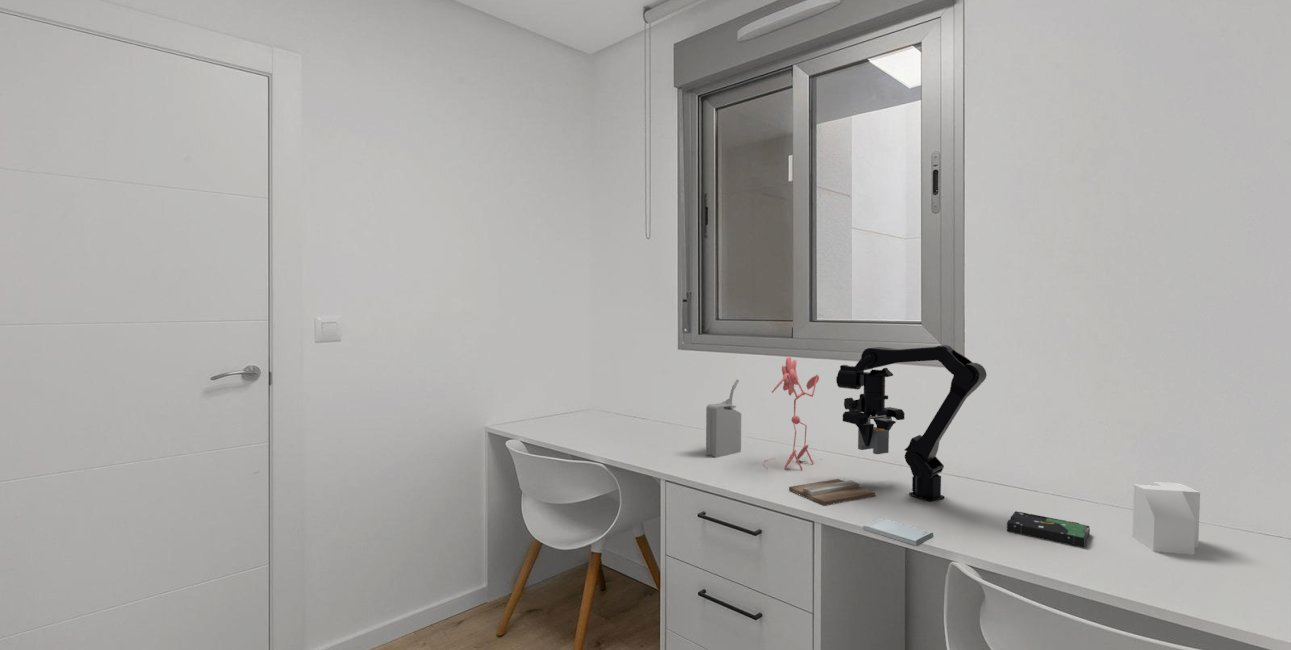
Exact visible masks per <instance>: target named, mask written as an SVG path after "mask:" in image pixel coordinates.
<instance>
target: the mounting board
mask: <svg viewBox="0 0 1291 650" xmlns="http://www.w3.org/2000/svg"><path fill="white" fill-rule="evenodd" d="M789 490H790V492H792V493H794V492H795V493H794V494H796V493H798V494H797V495H799V494H800V495H799V496H801V495H802V496H801V497H803V496H804V497H803V498H806V497H807V498H806V499H808V498H809V499H808V500H810V499H812V500H811V501H813V500H814V501H813V502H815V501H816V503H817V502H818V504H820V503H821V505H822V504H823V506H828V505H827V504H829V505H834V504H833V503H835V504H839V502H840V503H844V502H843V501H846V502H850V501H849V500H851V501H854V500H855V499H856V500H860V498H862V499H866V497H867V498H872V497H876V495H877V494H876V491H873V490H871V489H867V488H864V487H862V486H860V483H859V482H857V481H853V480H851V479H850V480H843V479H839V478H836V479H830V480H829V479H828V480H823V481H817V482H811V483H805V484H798V485H793V486H788V491H789ZM871 496H872V497H871Z"/></svg>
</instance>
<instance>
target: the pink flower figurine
mask: <svg viewBox="0 0 1291 650" xmlns="http://www.w3.org/2000/svg"><path fill="white" fill-rule="evenodd" d="M796 368H797V360H796V359H792V357H791V356H787V357H786V358H785V365H781V372H782V378H781V379H780V381H779V382H778V384H777V385H776V386H775V387H774V389H773V390H772V391H771V393H772V394H773V393H774V392H775V391H776V390H777V388H778V387H780V386H781V384H783V386H782V389H783V391H784V392H786V391H787V390H788V392H787V393H788V396H792V394H793V393H794V395H795V398H794V400H793V416H792V417H791V423H792V424H793V428H794V429H793V430H794V438H793V440H794V441H793V447H792V448H793V449H792V453H791V454H790V455H789V457H788V459H787V461H786V464H785V466H784V469H786V468H787V467H788V466H789V465H790V463H791V462H792V461H793V459H794V457H795V459H796V461H797V464H798V466H799V469H800V470H801V471H803V466H802V464H801V462H800V459H801V457H802V456H803V455H804V454H805V453H806V454H807V456H808V459H809V460H810V462H811V465H813V464H814V461H813V459H812V457H811V454H810V452H809V450H808V448H809V444H807V443H806V441H807V440H806V439H807V429H808V428H807V427H808V426H807V424H806V423H803V422H801V418H800V416H798V415H796V404H797V400H798V399H800V398H801V397H802V396H805V395H807V396H809V397H814V395H815V389H816V386H817V383H818V382H819V379H820V376H819V375H818V374H816V375H814V376H812V377H811V378H810V379H809V380H808V381H807V383H806V388H807V390H810V389H812V388H813V389H812V393H808V392H805V391H804V390H803V388H802V386H801V384H800V382H799V378H798V374H797V370H796ZM797 385H798V387H799V389H800V391H801V392H800V393H799V394H797V391H796V389H795V386H797ZM798 424H802V425H803V426H804V427H805V429H804V430H805V431H804V444H803V445H804V446H802V448H801V450H800V451H799V453H798V454H796V453H797V450H796V449H795V446H796V439H797V438H796V437H797V429H796V425H798ZM773 459H775V457H773V458H769V459H767V460H764V463H765V462H768V461H770V460H773ZM820 460H822V461H823V459H822V458H820ZM764 463H762V465H763V466H765V465H764ZM766 469H767V470H768V467H766Z"/></svg>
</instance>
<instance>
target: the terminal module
mask: <svg viewBox="0 0 1291 650" xmlns="http://www.w3.org/2000/svg"><path fill="white" fill-rule="evenodd" d="M857 428H858V427H857ZM857 435H858V437H857V450H860V451H861V450H862V451H864V450H871V449H872V454H875V455H881V454H883V455H884V454H889V453H890V452H889V446H890V445H889V440H890V438H889V437H890V430H889V431H888V430H884V429H881V428H877V426H874V428H873V432H872V437H871V441H870V445H869V447H867V446H865V444H864V441H863V438H862V435H861V432H860V430H859V428H858V432H857Z"/></svg>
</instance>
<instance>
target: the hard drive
mask: <svg viewBox="0 0 1291 650" xmlns="http://www.w3.org/2000/svg"><path fill="white" fill-rule="evenodd" d="M862 529H863V530H864V531H867V532H871V533H874V534H877V535H880V536H884V537H887V538H890V539H893V540H897V541H900V542H902V543H906V544H909V545H912V546H918V545H920V544H922V543H923V542H926V541H927V540H929V539H932V538H934V532H932V531H928V530H925V529H921V528H918V527H914V526H911V525H907V524H904V523H901V522H897V521H894V520H890V519H886V518H883V517H880V518H876V519H875V520H872V521H870V522H868V523H866V524H863V526H862Z"/></svg>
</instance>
